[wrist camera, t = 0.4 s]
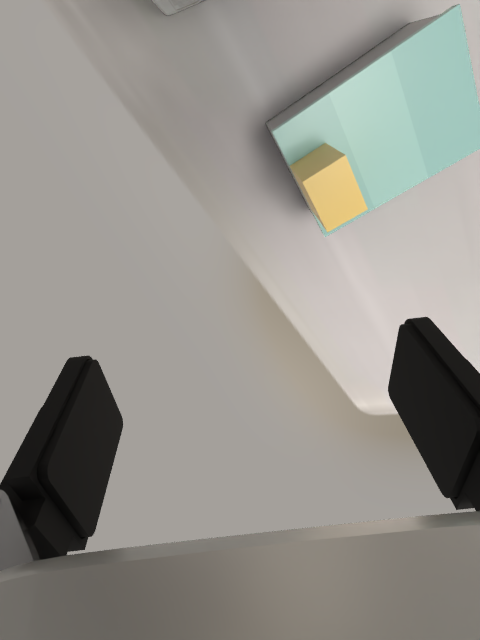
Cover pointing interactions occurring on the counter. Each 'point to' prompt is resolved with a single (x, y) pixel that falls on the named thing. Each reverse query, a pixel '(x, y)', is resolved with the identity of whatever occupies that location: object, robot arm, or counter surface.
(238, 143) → the counter surface
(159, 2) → the supplement box
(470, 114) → the lid
